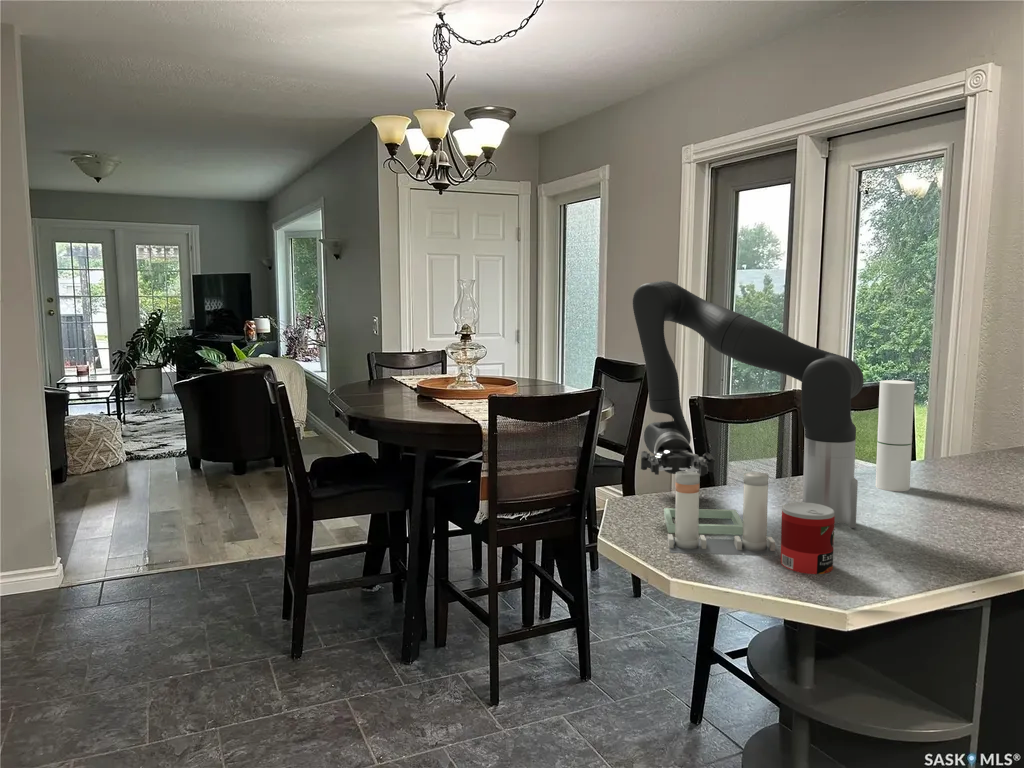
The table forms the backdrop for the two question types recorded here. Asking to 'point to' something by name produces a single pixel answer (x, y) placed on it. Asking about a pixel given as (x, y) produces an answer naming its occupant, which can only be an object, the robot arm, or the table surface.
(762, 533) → the plain fuse
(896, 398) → the cylindrical container
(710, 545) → the clip block
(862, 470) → the table surface
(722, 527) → the tray
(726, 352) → the robot arm
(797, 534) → the canned food
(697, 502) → the cylinder
